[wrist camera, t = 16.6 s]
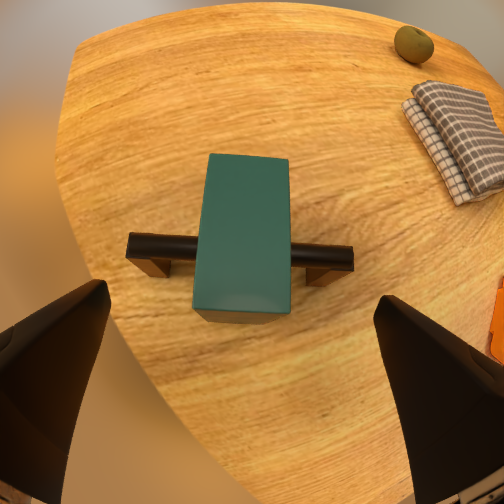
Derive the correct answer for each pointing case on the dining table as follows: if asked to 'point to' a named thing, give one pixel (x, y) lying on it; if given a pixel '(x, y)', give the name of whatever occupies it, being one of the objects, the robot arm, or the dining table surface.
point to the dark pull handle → (185, 248)
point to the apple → (413, 44)
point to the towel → (459, 138)
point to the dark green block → (244, 241)
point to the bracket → (498, 327)
